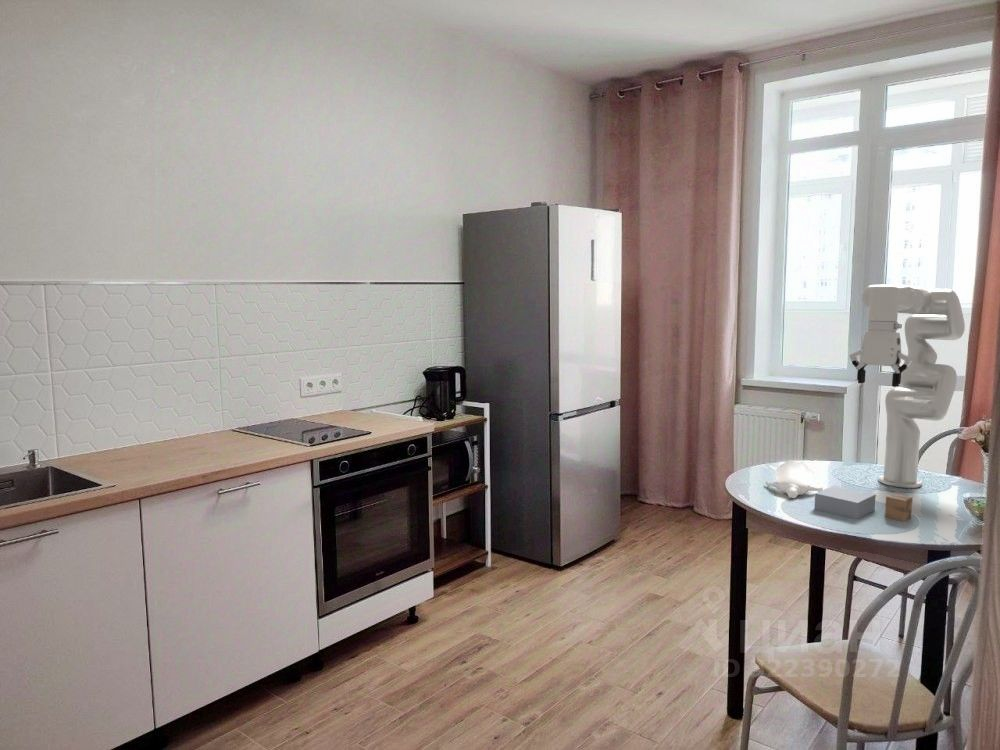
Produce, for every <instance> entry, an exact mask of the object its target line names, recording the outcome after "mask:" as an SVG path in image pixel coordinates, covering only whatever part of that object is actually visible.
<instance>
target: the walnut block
mask: <svg viewBox="0 0 1000 750" xmlns="http://www.w3.org/2000/svg"><path fill="white" fill-rule="evenodd" d="M912 508H913V496H908V495H903V494H899V493H894V492H893V493H890V494H888V495H887V496H886V497H885V509H884V518H886V519H892V520H895V521H901V522H902V523H903V522H907V520H909V519H911V518H912Z"/></svg>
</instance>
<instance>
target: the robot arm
mask: <svg viewBox="0 0 1000 750" xmlns="http://www.w3.org/2000/svg"><path fill="white" fill-rule="evenodd" d="M861 302H862V305H863V307H864V308H866V310H868V317H867V318H868V321H867V331H866V330H865V332H864V335H863V337H862V343H861V347H860V348H861V349H860V350H858V351H855V352H853V353H851V354H849V359H850V361H851V364H852V365H853V366H854V367H855V369H856V370H857V374H856V380H857V383H858V384H864V383H865V382H866V373H867V372H866V369H865V368H866V367H867V366H869V365H871V366H879V367H883V366H884V367H891V368H892V370H893V373H892V377H891V378H892V380H891V381H892V382H891V386H892V387H893V388H892V389H890V390H889V391H888V392H886V394H885V400H884V401H885V402H884V403H885V410H886V436H885V451H884V467H883V468H884V469H883V474H881V475H879V476H877V477H878V478H877V481H878V482H879V483H880V484H884V485H886V486H890V487H897V488H904V489H907V488H908V489H911V488H912V489H913V488H914V489H915V488H919V487H922V486H923V481H922V480H921V479H919V478H918V472H919V469H918V468H919V466H918V465H919V457H920V456H919V455H920V453H919V451H920V440H921V430H920V427H919V426H918V424H917V423H916V421H915V419H918V420H925V421H938V422H939V421H941V420H943V419H945V418H946V416H947V414H948V410H949V407H950V405H951V402H952V399H953V396H954V393H955V390H956V387H957V381H958V374H957V371H956V369H955V368H954V367H953V366H952V365H948V364H941V363H937V358H938V354H937V352H936V350H935V349H934V348H933V346H932V345H931V344H930V343H928V341H927V340H936V341H938V340H939V341H957V340H959V339H961V338H962V337H963V335H964V332H965V328H966V326H965V325H966V324H965V320H964V315H963V310H962V305H961V302H960V299H959V295H957V293H956V292H955V291H954V290H952V289H949V288H942V289H941V288H935V289H934V288H920V287H916V286H911V285H906V284H871V285H868V286H867V287H865V288H864V290H863V291H862V295H861ZM898 314H909V315H910V316H908V317H907V318H906V319H905V321H904V336H905V341H906V343H905V344H906V347H907V354H904V353H902V342H901V341H902V340H901V334H900V332H897V331H898V329H900V330H901V329H902V327H903V324H901V323H899V322H898V316H899V315H898ZM859 356H860V358H859V360H860V362H859V361H858V357H859ZM902 360H903V364H902V365H900V364H901V362H902ZM899 386H901V387H899Z"/></svg>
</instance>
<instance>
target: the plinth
mask: <svg viewBox="0 0 1000 750" xmlns="http://www.w3.org/2000/svg"><path fill="white" fill-rule="evenodd" d="M876 498H877V497H876V494H875V493H871V492H865V491H861V490H856V489H852V488H848V487H842V486H837V485H832V486H829V487H827V488H824V489H823V490H822V491H820V492H818V491H816V492H815V493H814V507H813V508H814V510H817V511H822V512H826V513H831V514H834V515H838V516H839V515H840V516H842V517H846V518H852V519H855V520H857V519H860V518H862V517H863V516H866V515H868V514H869V513H871V512H873V511H875V510H876Z"/></svg>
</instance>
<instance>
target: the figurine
mask: <svg viewBox="0 0 1000 750" xmlns="http://www.w3.org/2000/svg"><path fill="white" fill-rule="evenodd" d="M774 477H775V479H776V481H769V480H766V481H765V485H766V486H767V487H772V488H773V487H774V488H777V489H779V490H780V491H781V492H782V493H785V494H787V495H788V498H791V499H796V498H798V496H800V495H804V494H805V493H806V492H807V493H808V492H810V491H811V492H820V491H822V490H824V489H823V486H820V487H818V486H814V485H810V484H811V483H812V482H813V481H814V477H815V476H814V472H813V470H812V469H811V467H809V466H808V465H807V464H806V463H805V462H804V461H797V460H793V459H792V460H791V459H790V460H786V461H785V462H784V463H782V464H780V465H779V466H778V467H777V468H776V469H775V474H774Z"/></svg>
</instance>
